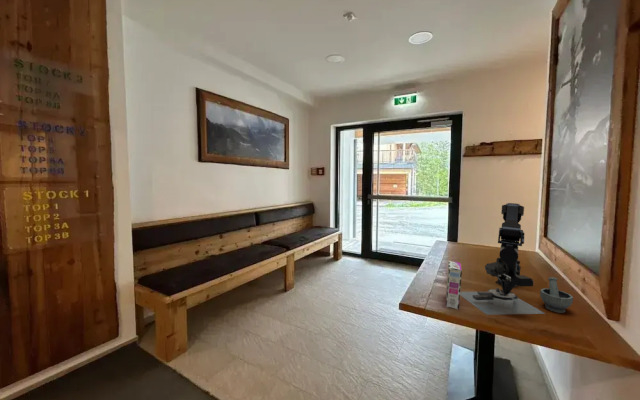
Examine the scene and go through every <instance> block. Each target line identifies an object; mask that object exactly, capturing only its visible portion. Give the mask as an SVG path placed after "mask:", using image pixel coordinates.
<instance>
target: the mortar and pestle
mask: <svg viewBox="0 0 640 400" xmlns="http://www.w3.org/2000/svg"><path fill="white" fill-rule="evenodd" d="M547 279H548V282H549V285H548V286H549V288H541V289H540V291H539V294H540V295H539V296H540V298H541V300H542V302H543V303H544V304H545V305H544V307H545V309H547V310H549V311H551V312H554V313H559V314H563V313H566V309H568V308H570V307H571V306H572V304H573V302H574V297H573V295H572V294H570V293H568V292H565V291H563V290H559V286H558V278H557V277H555V276H551V277H548V278H547Z"/></svg>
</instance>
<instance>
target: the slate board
mask: <svg viewBox="0 0 640 400" xmlns="http://www.w3.org/2000/svg"><path fill="white" fill-rule="evenodd" d="M478 292H479V291H460V297H462V298H464V299H465V301H468V302H469V303H470V304H471V305H473V306H474V307H475V308H477V309H478V310H479V311H480V312H482V313H484V315H485V316H486V315H491V316H492V315H493V316H494V315H536V314H537V315H538V314H539V315H540V314H541V315H543V314H546V313H545V312H543V311H542V310H540V309H539V308H537V307H535V306H534V305H532V304H529V303H528V302H526V301H524V300H523V299H520V298H519V297H518V299H514V302H513V307H512V308H502V307H498V306H495V305H492V304H491V303H489V302H488V301H487V300H475V299H474V298H473V295H479V294H478Z"/></svg>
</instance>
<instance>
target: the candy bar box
mask: <svg viewBox="0 0 640 400" xmlns="http://www.w3.org/2000/svg"><path fill="white" fill-rule="evenodd" d="M462 274H463V267H462V263H461V262H460V261H459V262H457V261H451V260H448V266H447V277H446V290H445V292H446V293H445V308H449V309H455V310H460V300H461V295H460V292H461V290H462V289H461V286H462V277H463V275H462Z"/></svg>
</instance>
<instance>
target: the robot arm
mask: <svg viewBox="0 0 640 400" xmlns="http://www.w3.org/2000/svg"><path fill="white" fill-rule="evenodd" d="M524 212H525V206H523V205H521V204H520V203H512V202H511V203H510V202H508V203H506V204H502V205H501V214H500V215H502V219H503V222H502V223H501V227H499V228H498V229H499V230H498V238H497V239H498V240H497V244H500V251H499V257H497V258H496V261H495V262H490V263H486V264H485V265H484V270H485V271H486V274H487V275H490V276H491V277H493V278H494V277H496V278H497V280H496V281H495V283H496V284H499V285H501V290H503V292H504V294H505V295H508V294H509V293H510V292H512V291H513V289H514V288H518V287H534V279H532V278H531V277H529V276H527V275H523V274H521V269H522V268H521V266H520V265H521V261H520V260H519V247H523V245H524V244H525V232H524V230H523V229H521V228H522V227H521V226H522V225H521V224H520V222H521V220H522V217H524V214H525V213H524Z"/></svg>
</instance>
